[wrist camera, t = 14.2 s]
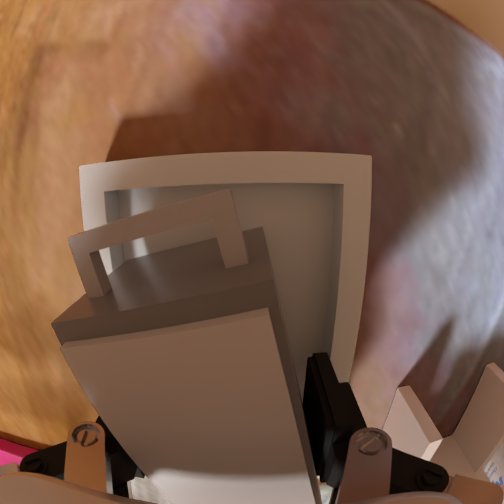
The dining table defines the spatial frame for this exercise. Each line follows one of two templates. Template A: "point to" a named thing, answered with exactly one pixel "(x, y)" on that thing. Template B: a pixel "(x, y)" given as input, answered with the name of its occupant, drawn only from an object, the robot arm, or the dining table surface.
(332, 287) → the tray
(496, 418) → the bay
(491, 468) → the supplement tub
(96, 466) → the robot arm
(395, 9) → the dining table surface
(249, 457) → the handled beige box
